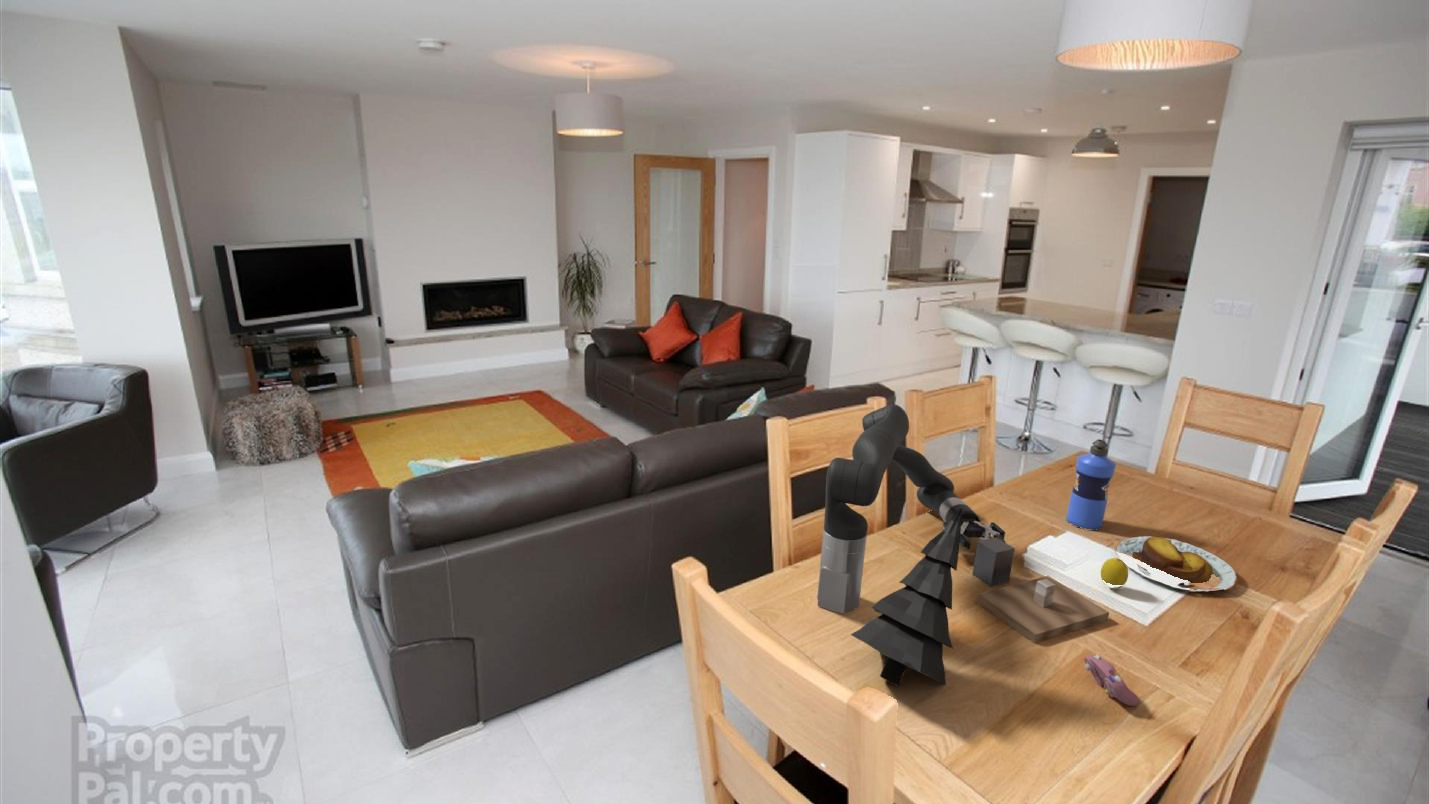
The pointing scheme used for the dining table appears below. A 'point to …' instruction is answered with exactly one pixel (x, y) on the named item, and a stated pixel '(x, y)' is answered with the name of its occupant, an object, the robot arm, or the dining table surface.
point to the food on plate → (1179, 560)
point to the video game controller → (1110, 680)
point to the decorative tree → (918, 612)
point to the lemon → (1114, 571)
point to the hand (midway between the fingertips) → (985, 545)
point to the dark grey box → (993, 561)
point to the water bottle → (1091, 487)
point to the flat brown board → (1042, 608)
